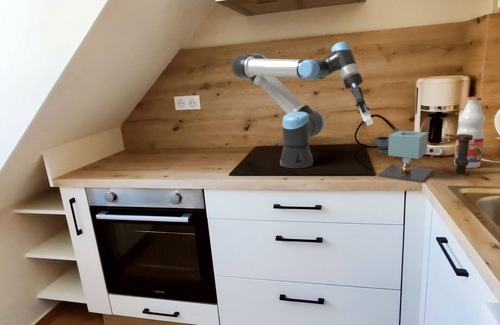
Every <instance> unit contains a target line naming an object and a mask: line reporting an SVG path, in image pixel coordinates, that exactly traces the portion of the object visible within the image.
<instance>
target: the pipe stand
mask: <svg viewBox="0 0 500 325" xmlns="http://www.w3.org/2000/svg"><path fill="white" fill-rule="evenodd" d="M411 165H412V158H407V157H402V164H401V165H400V164H392V163H391V165H390V166H388V167H386V168H385V169H384V170H382V171H381V172H379V173H378V174H377V175H378V177H380V178H387V179H394V180H401V181H407V182H414V183H420V184H421V183H422V184H423V182H425V180H427V179H428V178H429V177H430V176H431V175H432V174H433V173H434V169H432V168H423V167H417V166H416V167H415V166H411ZM431 173H432V174H431ZM430 174H431V175H430ZM429 175H430V176H429ZM428 176H429V177H428ZM427 177H428V178H427Z"/></svg>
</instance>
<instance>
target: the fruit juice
mask: <svg viewBox="0 0 500 325" xmlns="http://www.w3.org/2000/svg"><path fill="white" fill-rule="evenodd" d="M481 102H482V96H467V97H466V105H465V107H464V109H463V111H462V112H461V114H460V115H459V117H458V120H457V121H458V129H457V131H456V136H457V135H458V134H469V135H472V136H473V139H472V140H469V146H468V155H467V159H468V160H469V164H468V165H467V166H466V169H476V168H479V167H480V166H481V165H482V164H481V163H482V162H481V161H482V154H483V146H484V138H485V130H484V125H485V122H486V116H485V114H484V113H483V108H482V105H481ZM458 150H459V140H457V139H456V138H455V149H454V156H453V157H454V158H453V164H454V165H455V166H456V167H457V165H456V164H455V160H456V159H457V157H458Z"/></svg>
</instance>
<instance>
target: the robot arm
mask: <svg viewBox="0 0 500 325" xmlns="http://www.w3.org/2000/svg"><path fill="white" fill-rule="evenodd" d="M230 65H231V66H230V69H231V72H232V73H233V75H234V76H235V77H236V78H239V79H249V80H250V81H251V82H252V83H253V85H256V86H258V85H259V86H260V87H261V88H262V89H263V90H264V92H266V94H267V95H268V96H269V97H270V98H271V99H272V100H273V101H274V102H275V103H276V104H277V105H278V106H279V107H280V109H282V111H283V112H285V113H286V114H285V115H284V116H283V117H282V124H281V125H282V143H283V144H282V146H283V148H282V150H281V151H282V152H281V155H280V159H279V165H280V166H281V167H284V168H287V169H288V168H289V169H304V168H309V167H311V166H312V165H314V159H313V158H314V157H313V155H312V153H311V150H310V138H311V137H315V136H317V135H318V134H320V133H321V132H322V131H323V129H324V127H325V118H324V117H323V114H322V113H320V112H319V111H318V110H313V109H312V108H311V106H309V105H308V104H302V102H301V101H300V100H299V99H298V98H297V97H296V96H295V95H294V94H293V93H292V92H291V90H289V89H288V88H287V87H286V86H285V85H284V83H282V82H281V81H280V80H279V79H278V78H279V77H282V78H301V79H307V80H309V79H311V80H312V79H313V80H315V81H317V82H318V81H319V82H320V81H321V80H323V79H326V78H327V77H328V76H330V75H332V74H333V73H335V72H337V71H339V74H340V77H341V80H343V81H342V82H343V84H344V88H345V89H347V90H348V89H351V90H350V91H351V93H352V95H353V97H354V99H355V103H356V104H355V107H356V108H358V110H359V112H360V115H361V118H362V120H363V123H365V124H366V126H367V127H368V126H371V125H373V124H374V121H373V119H372V117H371V116H372V115H371V113H370V107H367V104H366V100H365V99H364V94H363V89H362V87H361V86H360V85H361V84H363V82H364V80H363V77H362V75H361V73H360V70H359V68H360V65H357V62H356V60H355V56H354V55H353V51H352V49H351V47H350V45H349V43H348V42H347V41H340V42H337V43H335V44H334V45H333V46H332V47H331V53H330V54H329V55H327V56H325V57H324V58H322V59H291V58H288V59H287V58H285V59H284V58H267V57H266V56H265V55H262V54H259V53H252V54H251V53H250V54H249V53H240V54H237V55H236V56H234V58H233V59H232V61H231V64H230Z"/></svg>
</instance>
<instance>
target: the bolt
mask: <svg viewBox="0 0 500 325" xmlns="http://www.w3.org/2000/svg"><path fill="white" fill-rule="evenodd" d="M456 139H457V140H459V150H458V157H457V159H456V160H455V164H456V165H457V166H456V165H455V164H454V165H455V166H456V167H455V168H456V170H455V173H456V174H459V175H465V174H466V170H467V168H466V166H467V165H468V164H469V160H468V159H467V155H468V146H469V140H472V139H473V136H472V135H469V134H458V135H457V134H456V136H455V140H456Z"/></svg>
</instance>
